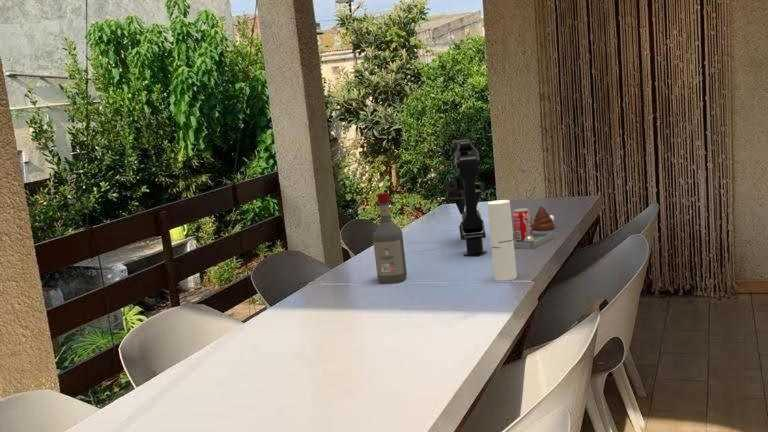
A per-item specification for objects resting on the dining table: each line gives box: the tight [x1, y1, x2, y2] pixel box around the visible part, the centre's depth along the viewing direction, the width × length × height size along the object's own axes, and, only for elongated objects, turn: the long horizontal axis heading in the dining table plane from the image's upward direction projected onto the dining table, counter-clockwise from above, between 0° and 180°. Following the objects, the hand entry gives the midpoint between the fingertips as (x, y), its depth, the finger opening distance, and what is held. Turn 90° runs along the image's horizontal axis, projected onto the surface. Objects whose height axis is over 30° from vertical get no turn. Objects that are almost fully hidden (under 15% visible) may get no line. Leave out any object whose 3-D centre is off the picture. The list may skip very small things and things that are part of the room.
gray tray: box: [513, 232, 555, 250], centre depth 325 cm, size 18×16×2 cm
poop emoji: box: [532, 206, 555, 232], centre depth 347 cm, size 10×8×9 cm
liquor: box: [372, 192, 408, 285], centre depth 289 cm, size 9×9×30 cm
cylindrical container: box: [487, 199, 518, 282], centre depth 274 cm, size 7×7×25 cm
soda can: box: [512, 207, 534, 242], centre depth 327 cm, size 7×7×12 cm
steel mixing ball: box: [524, 235, 534, 243], centre depth 318 cm, size 4×4×4 cm
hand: (468, 212), depth 331 cm, fingers open, 9 cm apart
